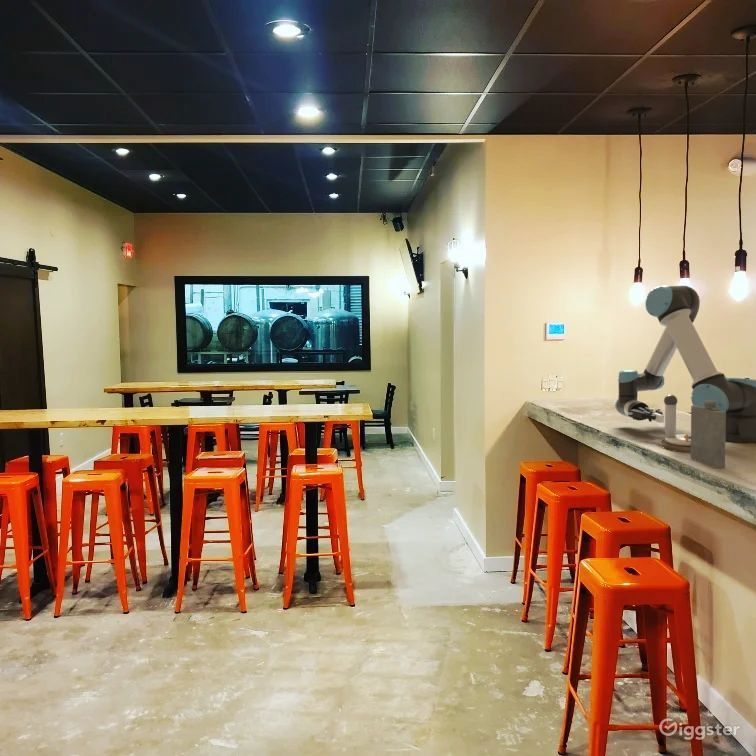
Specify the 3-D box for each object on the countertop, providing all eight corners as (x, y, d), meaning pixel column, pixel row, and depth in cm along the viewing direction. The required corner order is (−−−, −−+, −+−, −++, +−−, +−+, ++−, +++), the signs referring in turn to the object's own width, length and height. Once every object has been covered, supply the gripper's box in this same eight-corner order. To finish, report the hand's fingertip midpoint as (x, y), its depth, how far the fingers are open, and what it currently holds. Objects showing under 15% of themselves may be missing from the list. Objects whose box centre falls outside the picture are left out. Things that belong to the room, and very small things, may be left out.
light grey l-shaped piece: (713, 439, 226) (714, 393, 225) (711, 447, 213) (712, 398, 212) (666, 436, 234) (666, 392, 233) (660, 444, 221) (661, 397, 220)
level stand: (701, 441, 233) (701, 427, 232) (727, 451, 215) (727, 436, 214) (652, 443, 233) (652, 429, 232) (674, 453, 215) (674, 438, 215)
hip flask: (688, 457, 208) (689, 398, 206) (700, 457, 208) (701, 397, 206) (717, 468, 192) (718, 404, 190) (729, 468, 192) (731, 403, 190)
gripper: (652, 418, 256) (679, 428, 233) (620, 419, 256) (644, 429, 233) (652, 400, 255) (679, 408, 232) (620, 401, 256) (644, 409, 232)
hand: (661, 419), depth 232 cm, fingers closed
